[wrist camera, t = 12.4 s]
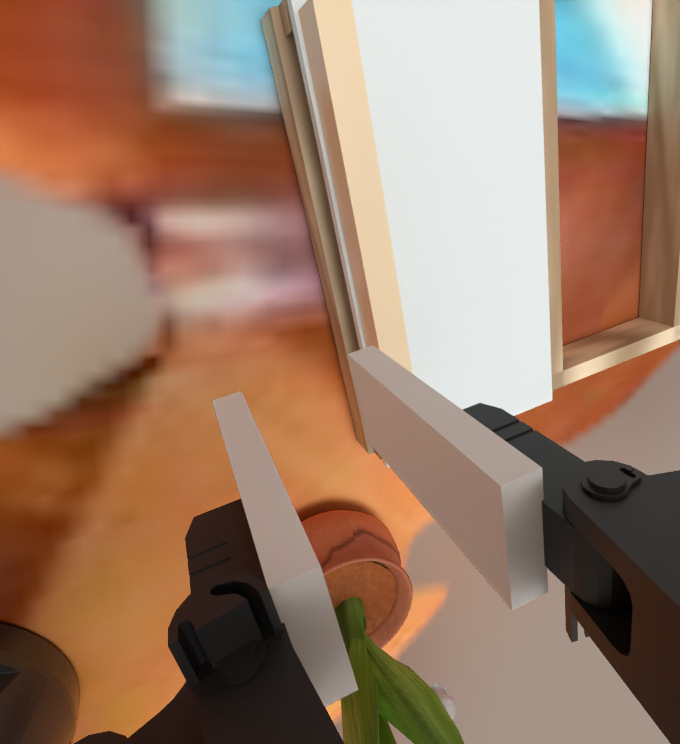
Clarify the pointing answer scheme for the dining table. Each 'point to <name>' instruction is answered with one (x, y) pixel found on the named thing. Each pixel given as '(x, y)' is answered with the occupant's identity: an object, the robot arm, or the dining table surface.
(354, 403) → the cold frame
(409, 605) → the potted flower
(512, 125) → the lid
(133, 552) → the dining table surface
